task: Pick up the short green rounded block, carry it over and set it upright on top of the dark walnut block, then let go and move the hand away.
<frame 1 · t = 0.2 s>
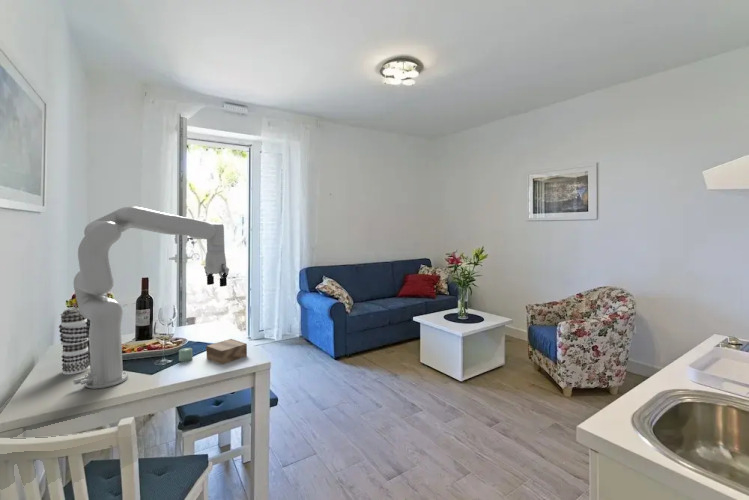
hand: (216, 285, 165), 31 cm above the table, tool pointing down, fingers open, 9 cm apart
green rounded block: (185, 359, 152), on the table
decorative candle: (76, 370, 140), on the table
walnut block: (226, 357, 155), on the table
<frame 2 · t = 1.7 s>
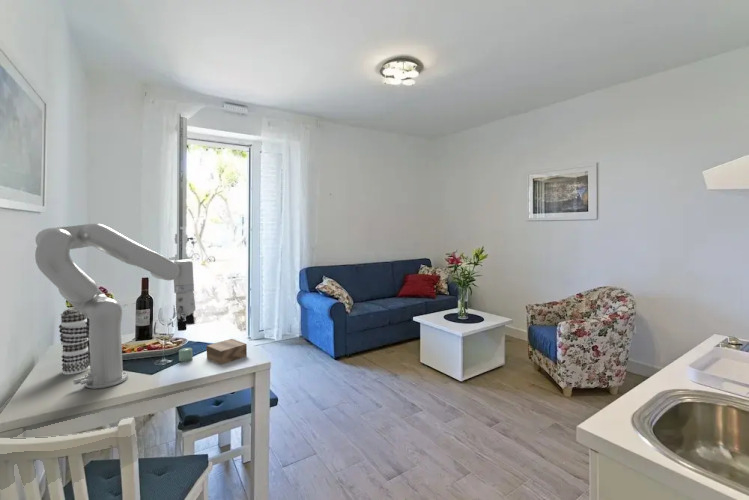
hand: (186, 327, 151), 14 cm above the table, tool pointing down, fingers open, 9 cm apart
nothing on the table moved.
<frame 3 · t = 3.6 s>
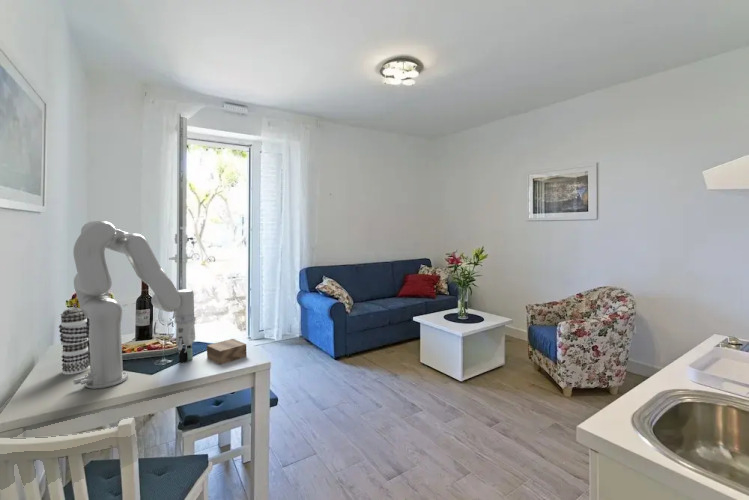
hand: (185, 358, 152), 0 cm above the table, tool pointing down, fingers closed on green rounded block, 5 cm apart
green rounded block: (185, 359, 152), on the table, touching gripper
everything else where it was.
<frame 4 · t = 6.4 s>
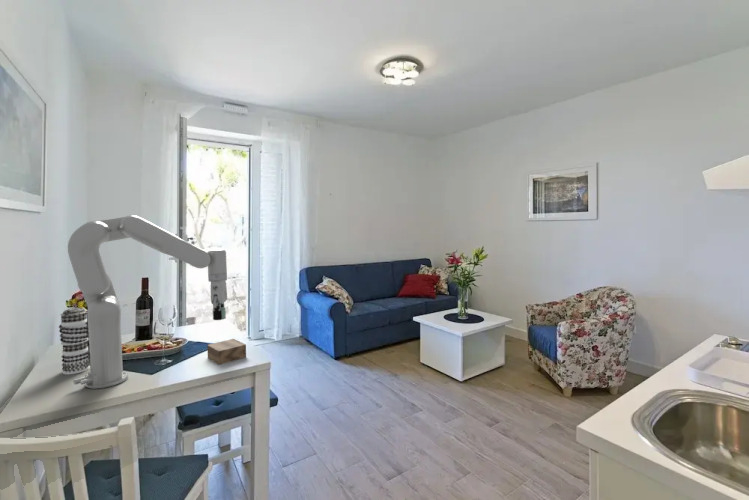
hand: (219, 317, 154), 18 cm above the table, tool pointing down, fingers closed on green rounded block, 5 cm apart
green rounded block: (219, 318, 154), point 18 cm above the table, touching gripper
everything else where it was.
when the fingers open (8 cm above the table, at t = 9.3 s): green rounded block drops 2 cm, resting on walnut block.
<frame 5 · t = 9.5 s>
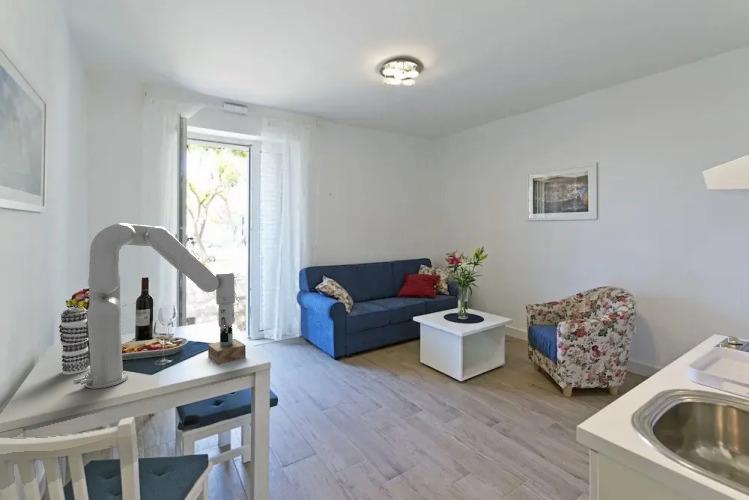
hand: (226, 338, 154), 8 cm above the table, tool pointing down, fingers open, 7 cm apart
green rounded block: (226, 344, 155), point 6 cm above the table, touching walnut block
walnut block: (226, 357, 155), on the table, touching green rounded block
everything else where it was.
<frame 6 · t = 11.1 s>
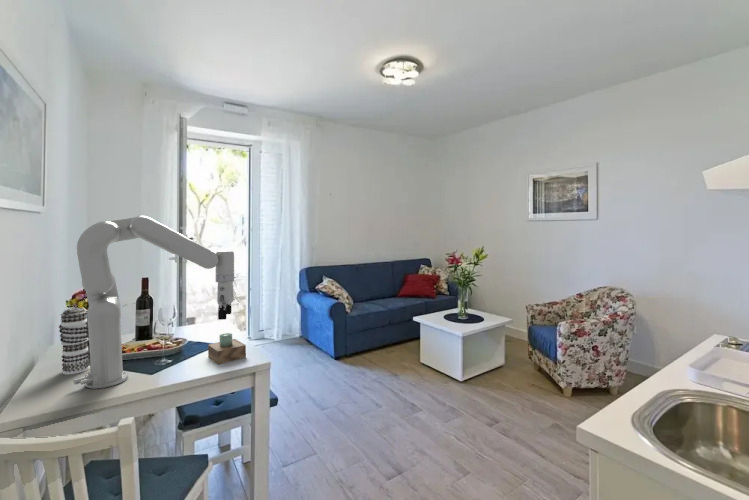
hand: (225, 316, 154), 18 cm above the table, tool pointing down, fingers open, 9 cm apart
nothing on the table moved.
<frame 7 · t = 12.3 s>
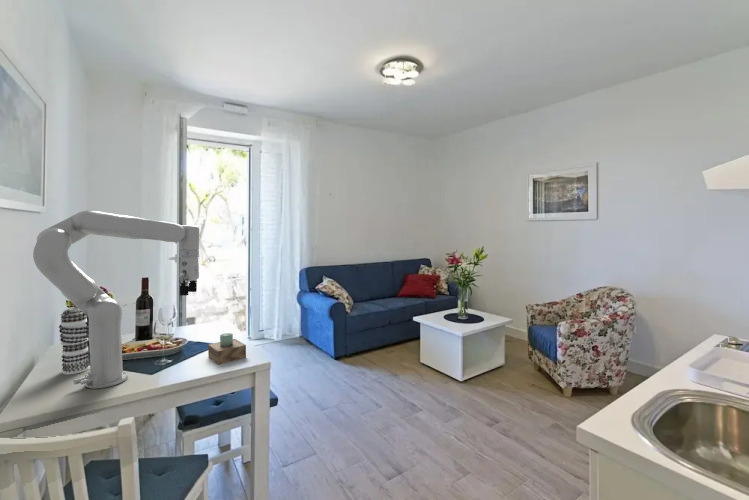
hand: (188, 293, 150), 29 cm above the table, tool pointing down, fingers open, 9 cm apart
nothing on the table moved.
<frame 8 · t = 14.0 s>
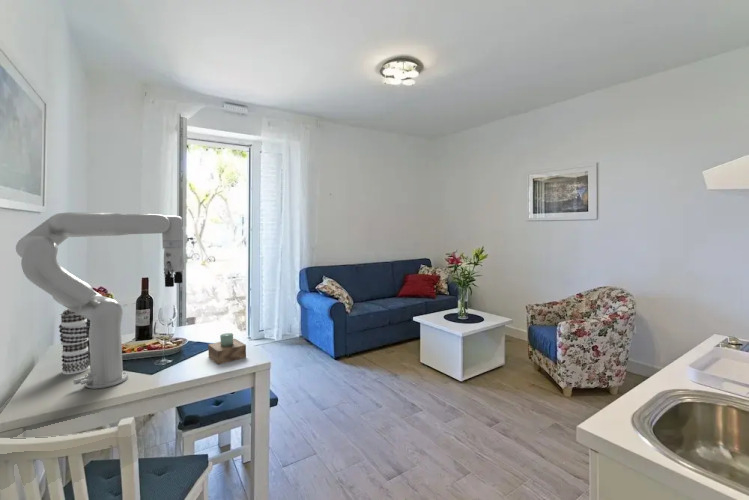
hand: (174, 284, 149), 33 cm above the table, tool pointing down, fingers open, 9 cm apart
nothing on the table moved.
at the end: green rounded block inside the target area on the walnut block (0.3 cm from its centre), point 6.0 cm above the walnut block's base; green rounded block tilted 0°; the gripper is holding nothing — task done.
